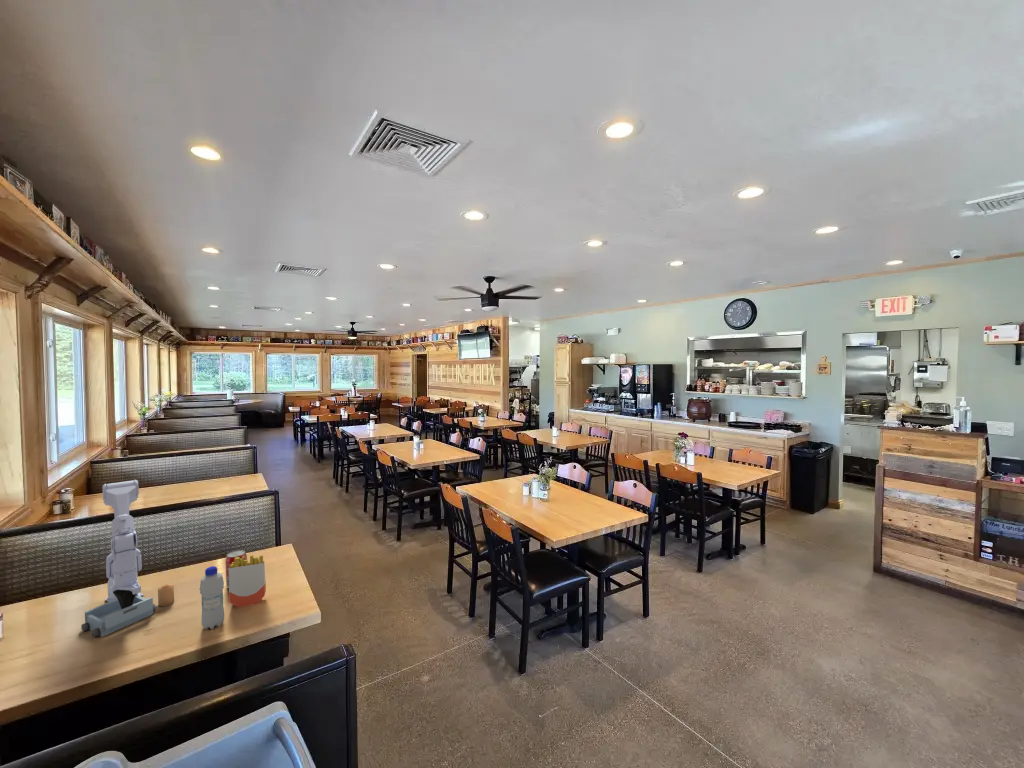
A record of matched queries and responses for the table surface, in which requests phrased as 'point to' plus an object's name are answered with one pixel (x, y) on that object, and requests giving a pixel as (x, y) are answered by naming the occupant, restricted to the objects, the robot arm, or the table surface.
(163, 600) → the tan hollow cylinder
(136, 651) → the table surface
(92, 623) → the box
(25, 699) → the table surface
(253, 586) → the french fries container
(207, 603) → the bottle
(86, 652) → the table surface
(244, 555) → the soda can
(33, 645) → the table surface
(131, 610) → the panel
